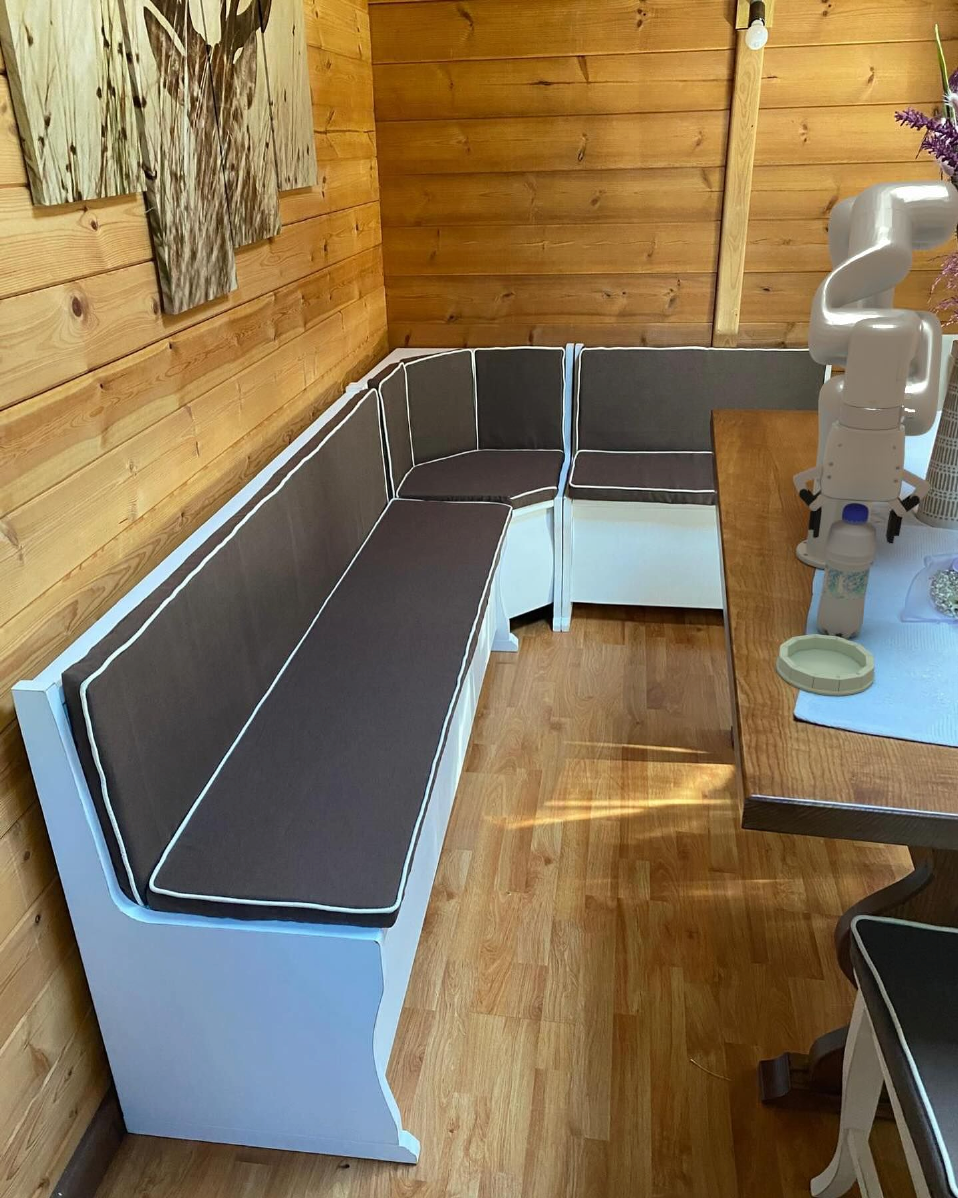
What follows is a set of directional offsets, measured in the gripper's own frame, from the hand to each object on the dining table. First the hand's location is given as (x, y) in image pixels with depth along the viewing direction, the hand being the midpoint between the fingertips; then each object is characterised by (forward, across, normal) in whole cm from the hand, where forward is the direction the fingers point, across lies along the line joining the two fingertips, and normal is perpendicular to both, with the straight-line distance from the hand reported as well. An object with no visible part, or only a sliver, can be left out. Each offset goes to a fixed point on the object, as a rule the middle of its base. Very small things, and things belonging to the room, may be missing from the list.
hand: (852, 537), depth 125 cm
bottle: (+16, 0, -1) cm, 16 cm away
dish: (+16, +2, +11) cm, 19 cm away
